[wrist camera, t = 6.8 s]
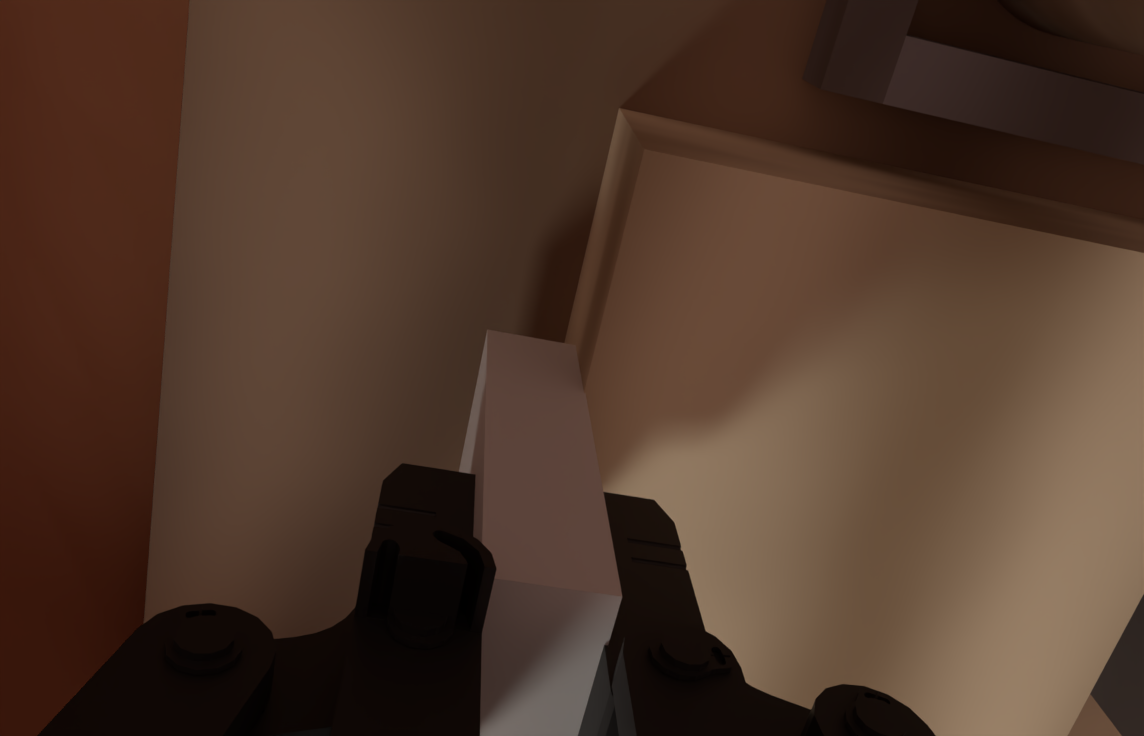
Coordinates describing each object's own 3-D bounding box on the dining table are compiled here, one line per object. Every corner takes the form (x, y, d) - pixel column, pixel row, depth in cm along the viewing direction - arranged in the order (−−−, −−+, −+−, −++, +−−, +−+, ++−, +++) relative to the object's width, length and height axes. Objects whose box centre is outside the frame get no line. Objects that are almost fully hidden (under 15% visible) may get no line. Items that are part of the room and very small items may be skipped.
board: (154, 689, 22) (32, 966, 16) (265, -688, 13) (83, -1158, 7) (1083, 804, 25) (1254, 1067, 19) (1676, -226, 16) (2311, -297, 10)
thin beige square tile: (500, 616, 20) (501, 728, 17) (618, 108, 16) (644, 148, 13) (968, 678, 21) (1037, 791, 19) (1181, 227, 17) (1308, 287, 15)
